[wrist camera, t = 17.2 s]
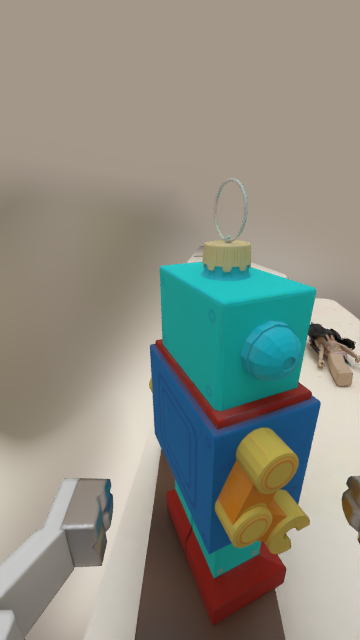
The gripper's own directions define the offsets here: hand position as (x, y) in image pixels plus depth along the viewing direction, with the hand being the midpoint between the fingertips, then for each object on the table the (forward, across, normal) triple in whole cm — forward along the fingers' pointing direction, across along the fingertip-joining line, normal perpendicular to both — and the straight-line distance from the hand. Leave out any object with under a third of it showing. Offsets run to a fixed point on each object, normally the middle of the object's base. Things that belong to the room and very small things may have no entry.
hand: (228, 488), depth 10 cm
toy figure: (+37, -26, +18) cm, 48 cm away
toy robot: (+7, -1, +15) cm, 17 cm away
